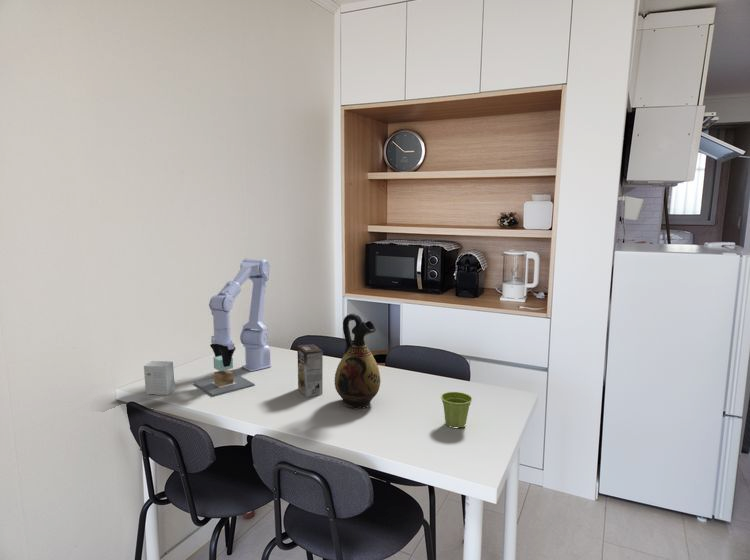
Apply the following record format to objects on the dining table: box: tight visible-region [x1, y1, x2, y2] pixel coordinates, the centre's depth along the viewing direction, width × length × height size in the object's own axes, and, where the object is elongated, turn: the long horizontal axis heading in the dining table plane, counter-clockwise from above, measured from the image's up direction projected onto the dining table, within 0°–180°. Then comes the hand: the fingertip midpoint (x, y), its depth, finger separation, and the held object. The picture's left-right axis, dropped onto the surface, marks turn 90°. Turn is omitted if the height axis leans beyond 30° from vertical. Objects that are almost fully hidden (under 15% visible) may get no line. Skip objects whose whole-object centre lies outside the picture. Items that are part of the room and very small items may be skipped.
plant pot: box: [440, 391, 473, 428], centre depth 150 cm, size 9×9×9 cm
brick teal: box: [212, 356, 234, 371], centre depth 181 cm, size 5×5×4 cm
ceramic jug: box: [334, 313, 381, 409], centre depth 165 cm, size 17×15×30 cm
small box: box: [143, 360, 176, 396], centre depth 174 cm, size 8×6×10 cm
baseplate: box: [193, 372, 256, 397], centre depth 182 cm, size 16×16×1 cm
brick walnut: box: [213, 369, 234, 387], centre depth 182 cm, size 5×5×4 cm
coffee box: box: [296, 343, 324, 398], centre depth 175 cm, size 9×6×16 cm
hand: (223, 364), depth 181 cm, fingers closed on brick teal, 5 cm apart
